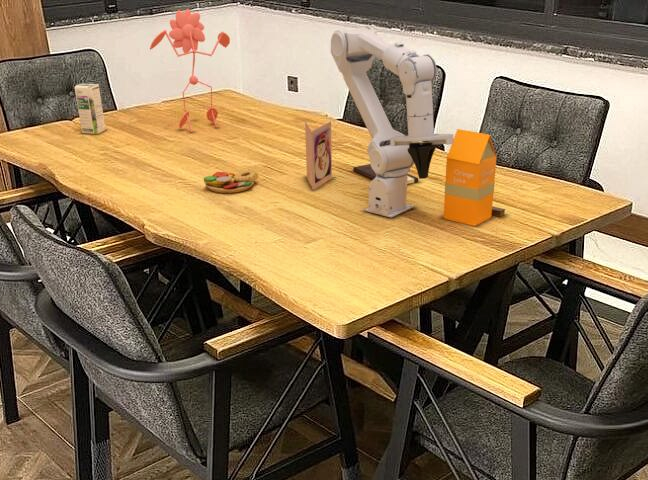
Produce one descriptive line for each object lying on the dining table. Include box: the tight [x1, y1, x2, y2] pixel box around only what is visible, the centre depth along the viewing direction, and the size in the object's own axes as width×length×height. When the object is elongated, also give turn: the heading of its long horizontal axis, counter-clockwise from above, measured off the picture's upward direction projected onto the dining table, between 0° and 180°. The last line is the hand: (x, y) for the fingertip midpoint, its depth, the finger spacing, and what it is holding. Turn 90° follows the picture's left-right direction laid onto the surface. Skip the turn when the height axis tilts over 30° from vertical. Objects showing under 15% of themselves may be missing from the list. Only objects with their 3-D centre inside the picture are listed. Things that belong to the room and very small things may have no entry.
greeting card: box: [304, 120, 333, 191], centre depth 218 cm, size 11×7×15 cm, turn 155°
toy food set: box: [203, 169, 259, 194], centre depth 220 cm, size 13×13×3 cm
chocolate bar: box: [353, 163, 419, 185], centre depth 226 cm, size 9×1×18 cm
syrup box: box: [74, 83, 107, 135], centre depth 267 cm, size 6×6×14 cm
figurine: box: [149, 8, 234, 133], centre depth 266 cm, size 15×26×35 cm, turn 125°
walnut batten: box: [491, 205, 506, 218], centre depth 202 cm, size 2×12×2 cm, turn 50°
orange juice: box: [442, 128, 498, 227], centre depth 193 cm, size 8×9×20 cm
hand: (423, 177), depth 190 cm, fingers closed
